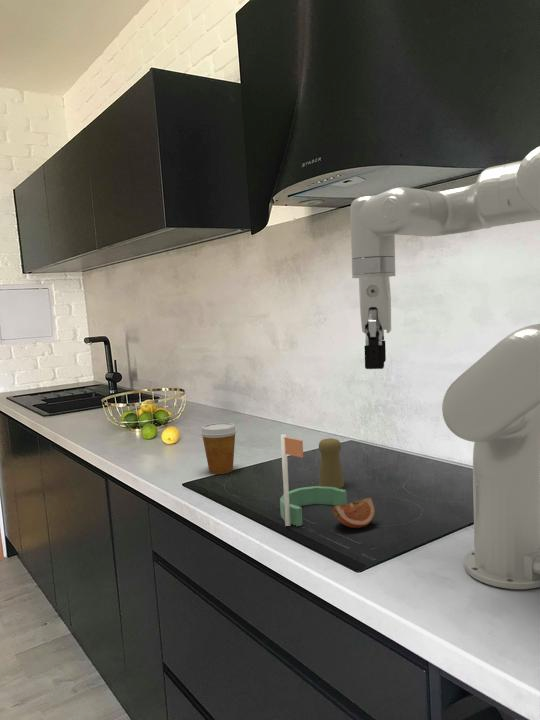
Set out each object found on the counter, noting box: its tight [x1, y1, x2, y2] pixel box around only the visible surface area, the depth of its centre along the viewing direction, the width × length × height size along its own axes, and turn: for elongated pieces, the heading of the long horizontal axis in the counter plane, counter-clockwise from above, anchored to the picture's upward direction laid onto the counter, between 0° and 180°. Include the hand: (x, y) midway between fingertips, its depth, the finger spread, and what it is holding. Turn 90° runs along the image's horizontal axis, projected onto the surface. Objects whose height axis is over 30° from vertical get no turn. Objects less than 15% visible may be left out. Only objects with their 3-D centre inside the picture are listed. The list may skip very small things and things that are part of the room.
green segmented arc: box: [279, 433, 348, 527], centre depth 119 cm, size 12×16×18 cm
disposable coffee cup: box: [200, 422, 238, 475], centre depth 154 cm, size 10×10×12 cm
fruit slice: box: [331, 497, 376, 529], centre depth 112 cm, size 8×7×5 cm
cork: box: [318, 437, 345, 489], centre depth 137 cm, size 6×6×11 cm
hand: (375, 365), depth 105 cm, fingers open, 9 cm apart
